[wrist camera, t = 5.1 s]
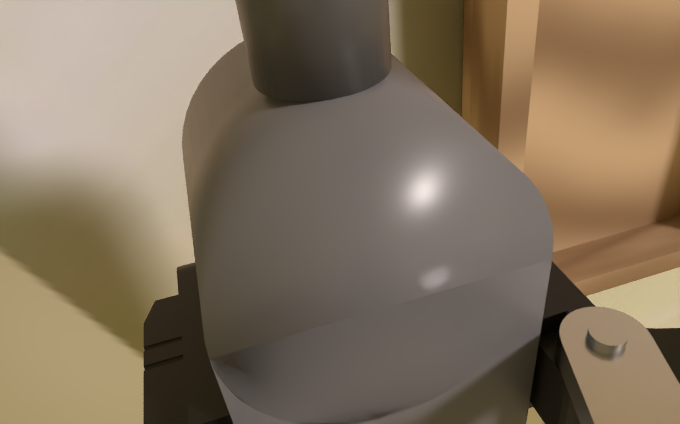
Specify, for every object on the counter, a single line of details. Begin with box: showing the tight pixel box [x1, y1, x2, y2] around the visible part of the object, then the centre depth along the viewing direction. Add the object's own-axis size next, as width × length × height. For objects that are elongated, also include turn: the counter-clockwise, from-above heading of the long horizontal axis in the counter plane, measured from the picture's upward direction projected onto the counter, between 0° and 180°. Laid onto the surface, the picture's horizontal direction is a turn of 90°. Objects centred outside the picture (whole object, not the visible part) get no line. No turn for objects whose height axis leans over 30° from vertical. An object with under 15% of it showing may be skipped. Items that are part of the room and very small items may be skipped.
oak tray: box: [462, 0, 680, 296], centre depth 19 cm, size 20×12×3 cm, turn 7°
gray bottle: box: [182, 0, 554, 424], centre depth 10 cm, size 14×4×4 cm, turn 7°
